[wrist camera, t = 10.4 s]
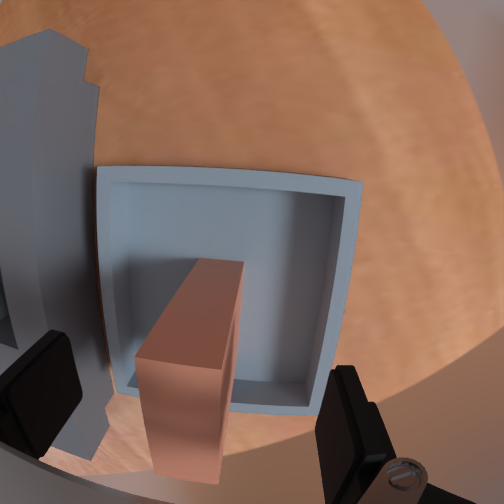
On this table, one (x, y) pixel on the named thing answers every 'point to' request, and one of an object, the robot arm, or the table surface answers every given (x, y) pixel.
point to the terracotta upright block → (192, 372)
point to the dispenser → (51, 220)
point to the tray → (234, 249)
